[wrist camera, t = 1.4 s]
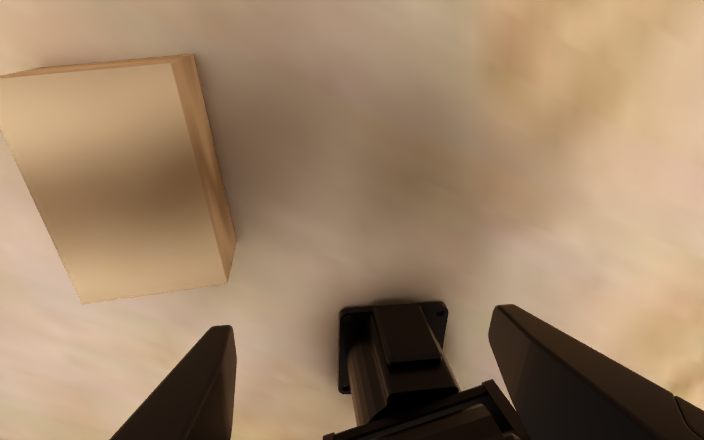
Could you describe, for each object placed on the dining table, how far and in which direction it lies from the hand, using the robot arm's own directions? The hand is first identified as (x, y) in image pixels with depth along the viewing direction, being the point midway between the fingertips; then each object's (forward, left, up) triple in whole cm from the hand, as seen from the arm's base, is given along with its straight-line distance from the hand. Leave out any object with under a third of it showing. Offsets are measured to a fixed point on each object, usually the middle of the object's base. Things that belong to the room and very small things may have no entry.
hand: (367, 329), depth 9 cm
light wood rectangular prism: (0, +8, -12) cm, 15 cm away
